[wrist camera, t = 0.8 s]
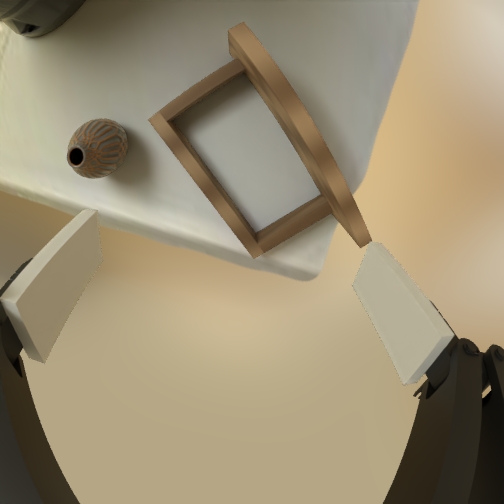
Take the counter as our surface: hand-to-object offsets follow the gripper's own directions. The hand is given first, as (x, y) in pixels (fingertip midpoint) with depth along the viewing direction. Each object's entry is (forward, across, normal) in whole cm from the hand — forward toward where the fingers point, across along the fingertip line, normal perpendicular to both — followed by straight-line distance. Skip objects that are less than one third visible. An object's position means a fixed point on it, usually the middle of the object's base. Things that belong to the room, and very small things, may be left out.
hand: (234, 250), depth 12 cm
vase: (+22, -16, +1) cm, 27 cm away
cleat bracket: (+22, +2, 0) cm, 22 cm away
